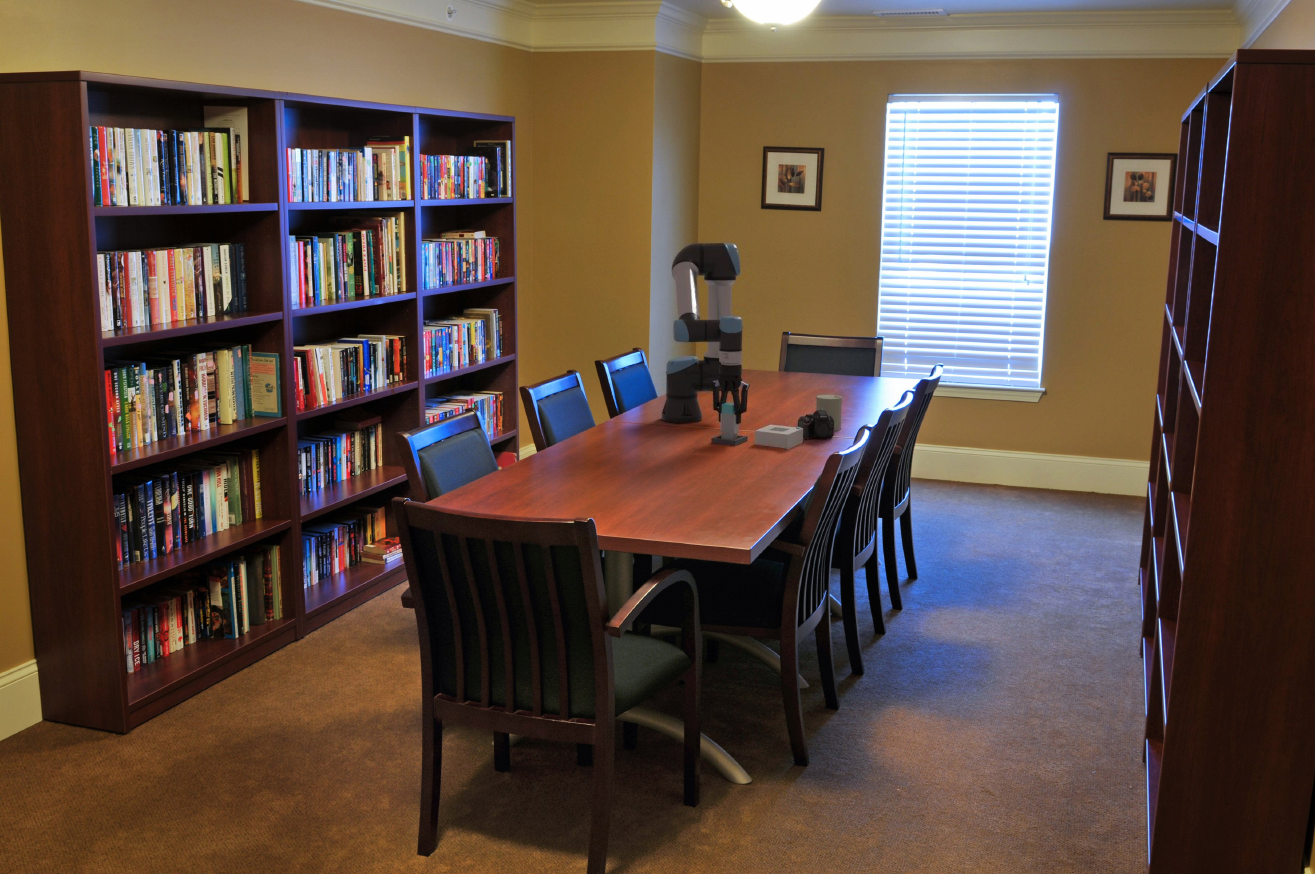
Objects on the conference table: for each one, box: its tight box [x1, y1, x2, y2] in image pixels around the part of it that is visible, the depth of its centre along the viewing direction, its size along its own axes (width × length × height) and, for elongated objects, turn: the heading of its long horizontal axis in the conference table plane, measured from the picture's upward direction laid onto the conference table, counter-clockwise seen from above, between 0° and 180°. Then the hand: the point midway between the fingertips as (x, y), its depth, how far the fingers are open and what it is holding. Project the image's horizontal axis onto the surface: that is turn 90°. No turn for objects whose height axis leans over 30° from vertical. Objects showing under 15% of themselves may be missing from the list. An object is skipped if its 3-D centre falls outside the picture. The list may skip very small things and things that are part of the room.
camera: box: [797, 409, 835, 441], centre depth 378 cm, size 13×10×10 cm
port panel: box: [754, 424, 804, 450], centre depth 369 cm, size 12×12×5 cm
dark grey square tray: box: [710, 433, 749, 447], centre depth 371 cm, size 9×9×2 cm
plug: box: [720, 401, 739, 440], centre depth 370 cm, size 4×4×13 cm
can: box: [815, 394, 843, 432], centre depth 394 cm, size 9×9×12 cm
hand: (729, 432), depth 370 cm, fingers closed on plug, 4 cm apart
